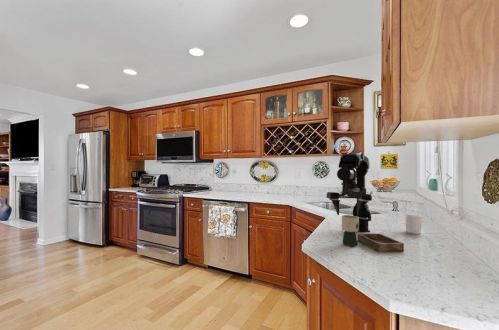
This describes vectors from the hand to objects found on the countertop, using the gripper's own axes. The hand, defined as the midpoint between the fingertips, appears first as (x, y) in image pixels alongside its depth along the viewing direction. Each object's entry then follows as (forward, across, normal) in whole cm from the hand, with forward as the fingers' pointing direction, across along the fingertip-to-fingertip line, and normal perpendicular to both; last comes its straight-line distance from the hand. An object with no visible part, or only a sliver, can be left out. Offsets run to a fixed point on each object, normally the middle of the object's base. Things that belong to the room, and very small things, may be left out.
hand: (348, 215), depth 111 cm
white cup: (+12, +48, +24) cm, 55 cm away
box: (+13, +14, 0) cm, 19 cm away
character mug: (+14, +1, 0) cm, 14 cm away
